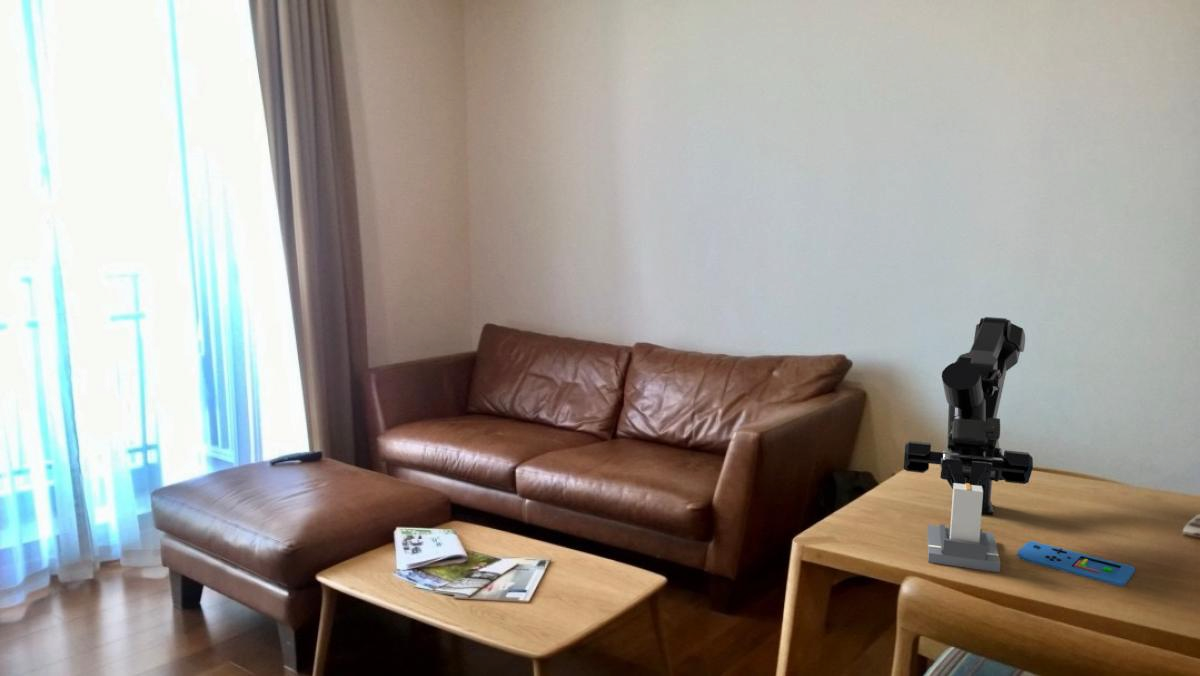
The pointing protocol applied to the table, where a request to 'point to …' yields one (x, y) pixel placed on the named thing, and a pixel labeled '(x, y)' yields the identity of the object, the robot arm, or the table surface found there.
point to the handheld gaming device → (1076, 563)
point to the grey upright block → (966, 512)
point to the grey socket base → (962, 550)
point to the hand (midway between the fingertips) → (965, 509)
